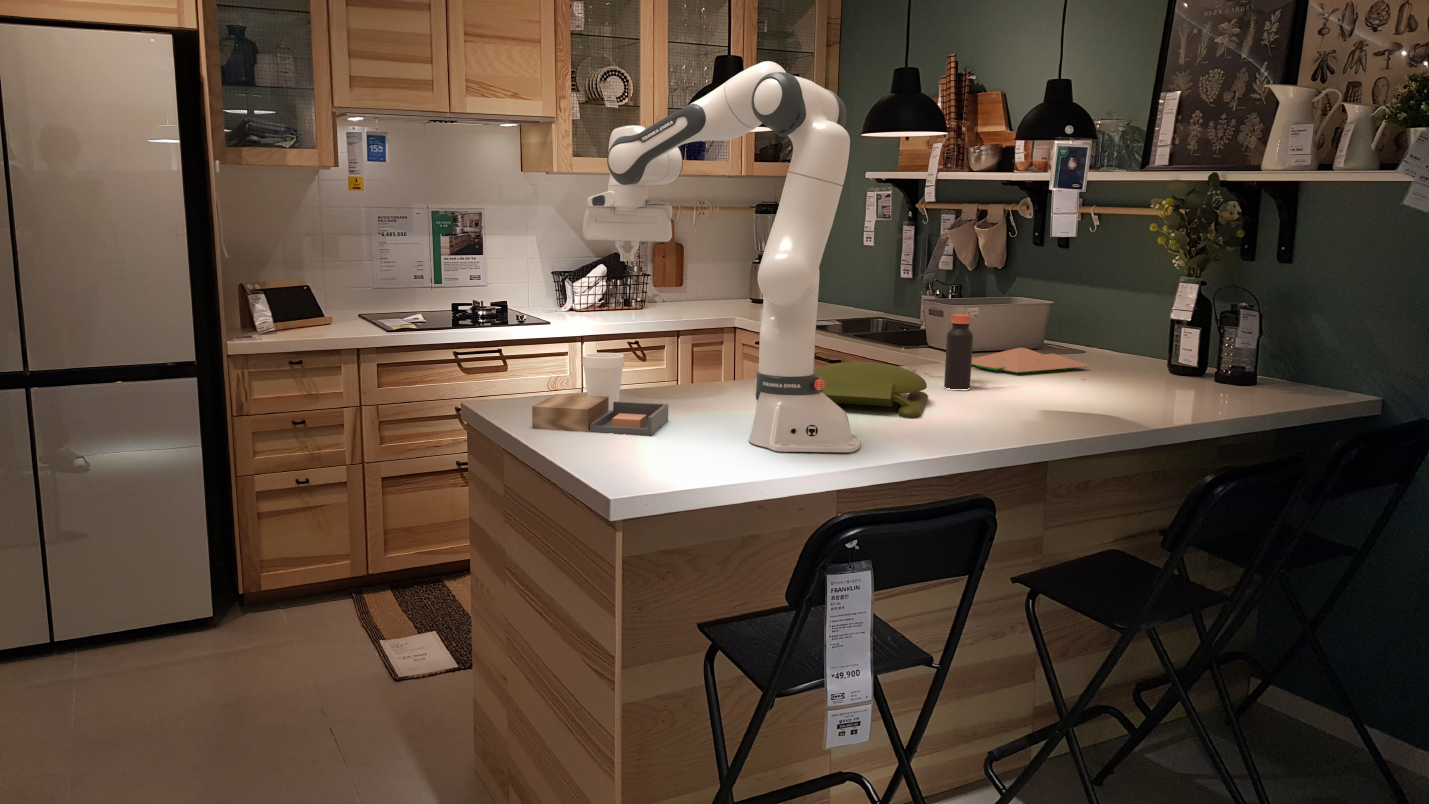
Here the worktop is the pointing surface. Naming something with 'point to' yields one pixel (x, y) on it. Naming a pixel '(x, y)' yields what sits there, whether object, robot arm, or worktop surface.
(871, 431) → the worktop surface
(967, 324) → the bottle
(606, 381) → the foam cup
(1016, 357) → the tan and green mat
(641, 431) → the box
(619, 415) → the terracotta tile
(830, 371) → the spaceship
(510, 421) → the worktop surface
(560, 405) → the walnut platform
